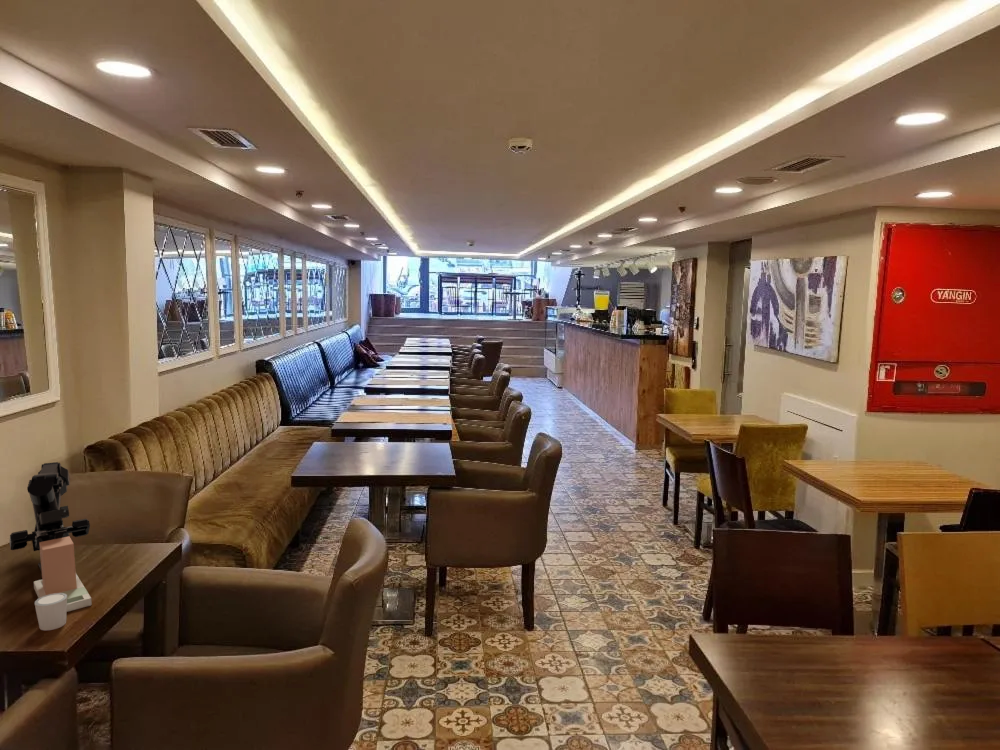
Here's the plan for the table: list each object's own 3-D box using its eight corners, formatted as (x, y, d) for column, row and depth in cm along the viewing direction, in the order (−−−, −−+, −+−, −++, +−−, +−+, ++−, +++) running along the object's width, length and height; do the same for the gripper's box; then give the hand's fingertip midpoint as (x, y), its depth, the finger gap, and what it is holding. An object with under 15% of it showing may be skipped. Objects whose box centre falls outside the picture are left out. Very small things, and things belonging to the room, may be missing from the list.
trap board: (34, 588, 183) (33, 581, 183) (75, 578, 190) (74, 571, 190) (47, 617, 167) (46, 609, 167) (91, 604, 174) (91, 597, 174)
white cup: (56, 632, 160) (54, 605, 159) (29, 631, 160) (27, 604, 160) (75, 618, 167) (73, 592, 166) (49, 617, 167) (47, 592, 166)
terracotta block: (42, 586, 180) (39, 542, 178) (72, 579, 185) (69, 536, 183) (46, 595, 175) (42, 550, 173) (76, 588, 179) (73, 543, 178)
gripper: (7, 505, 177) (15, 555, 170) (86, 491, 190) (97, 538, 183) (6, 525, 184) (14, 574, 177) (82, 511, 196) (92, 556, 190)
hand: (55, 560), depth 182 cm, fingers closed
